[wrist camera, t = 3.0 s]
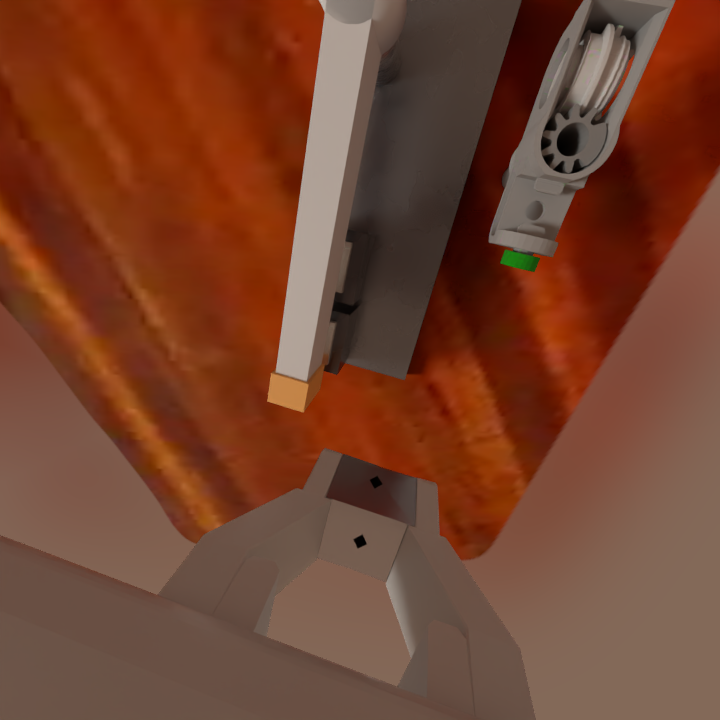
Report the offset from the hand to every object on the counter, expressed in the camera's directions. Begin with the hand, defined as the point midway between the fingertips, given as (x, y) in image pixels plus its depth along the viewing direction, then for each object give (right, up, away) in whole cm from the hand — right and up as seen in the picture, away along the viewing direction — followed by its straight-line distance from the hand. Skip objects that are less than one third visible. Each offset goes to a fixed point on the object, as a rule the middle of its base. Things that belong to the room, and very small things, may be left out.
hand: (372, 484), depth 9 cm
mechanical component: (+10, +15, +13) cm, 23 cm away
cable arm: (-2, +12, +11) cm, 16 cm away
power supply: (-2, +11, +16) cm, 19 cm away
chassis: (+2, +14, +15) cm, 21 cm away
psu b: (-3, +6, +18) cm, 19 cm away
